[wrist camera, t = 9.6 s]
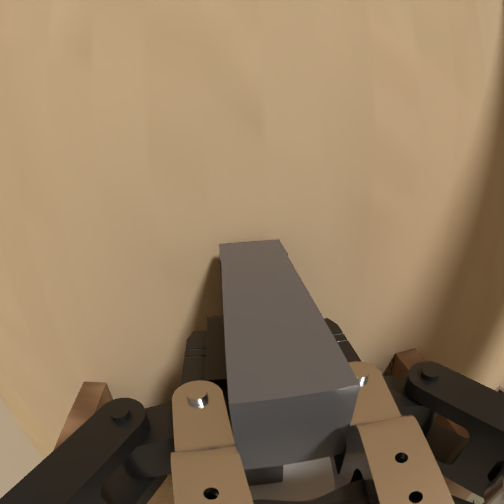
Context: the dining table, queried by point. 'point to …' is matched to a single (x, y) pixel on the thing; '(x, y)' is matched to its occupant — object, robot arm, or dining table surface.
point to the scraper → (282, 375)
